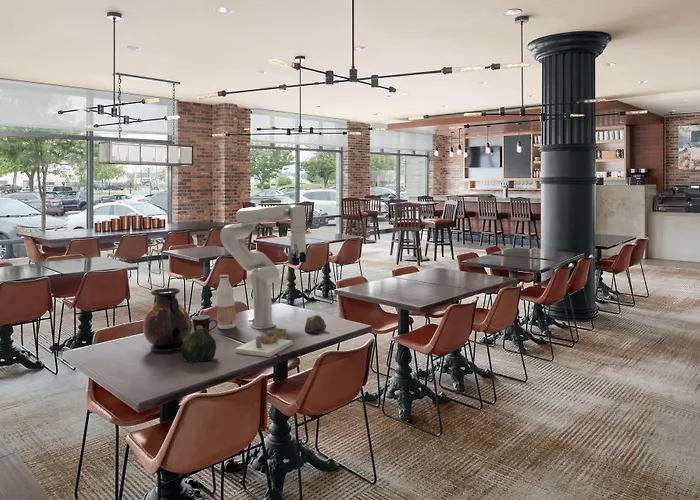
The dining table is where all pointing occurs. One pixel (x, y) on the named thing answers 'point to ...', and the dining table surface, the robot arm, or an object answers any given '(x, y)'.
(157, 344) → the amphora vase
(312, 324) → the grey lumpy stone
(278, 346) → the gear board
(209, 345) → the squash
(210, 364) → the dining table surface
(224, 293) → the fruit juice
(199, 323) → the coffee mug
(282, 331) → the maple gear
